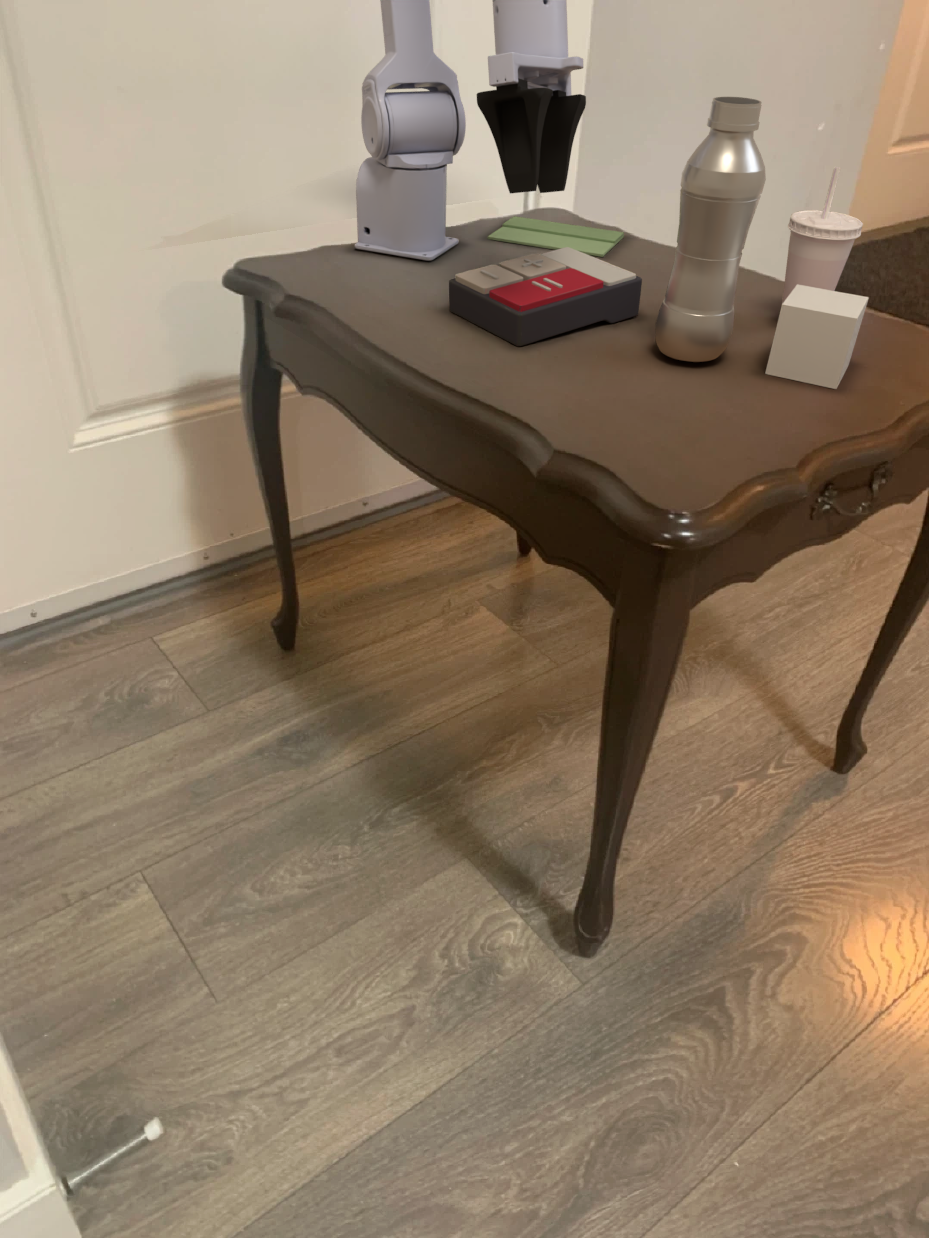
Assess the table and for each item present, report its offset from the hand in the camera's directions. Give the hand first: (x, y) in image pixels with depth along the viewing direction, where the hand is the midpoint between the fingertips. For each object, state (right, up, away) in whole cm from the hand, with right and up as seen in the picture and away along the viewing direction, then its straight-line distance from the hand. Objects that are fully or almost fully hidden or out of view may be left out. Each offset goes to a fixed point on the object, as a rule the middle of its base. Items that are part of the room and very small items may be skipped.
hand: (538, 192), depth 77 cm
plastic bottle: (+14, -12, +5) cm, 19 cm away
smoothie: (+26, -7, +12) cm, 30 cm away
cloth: (+5, +10, +33) cm, 34 cm away
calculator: (+1, -6, +12) cm, 14 cm away
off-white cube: (+24, -14, +4) cm, 28 cm away
